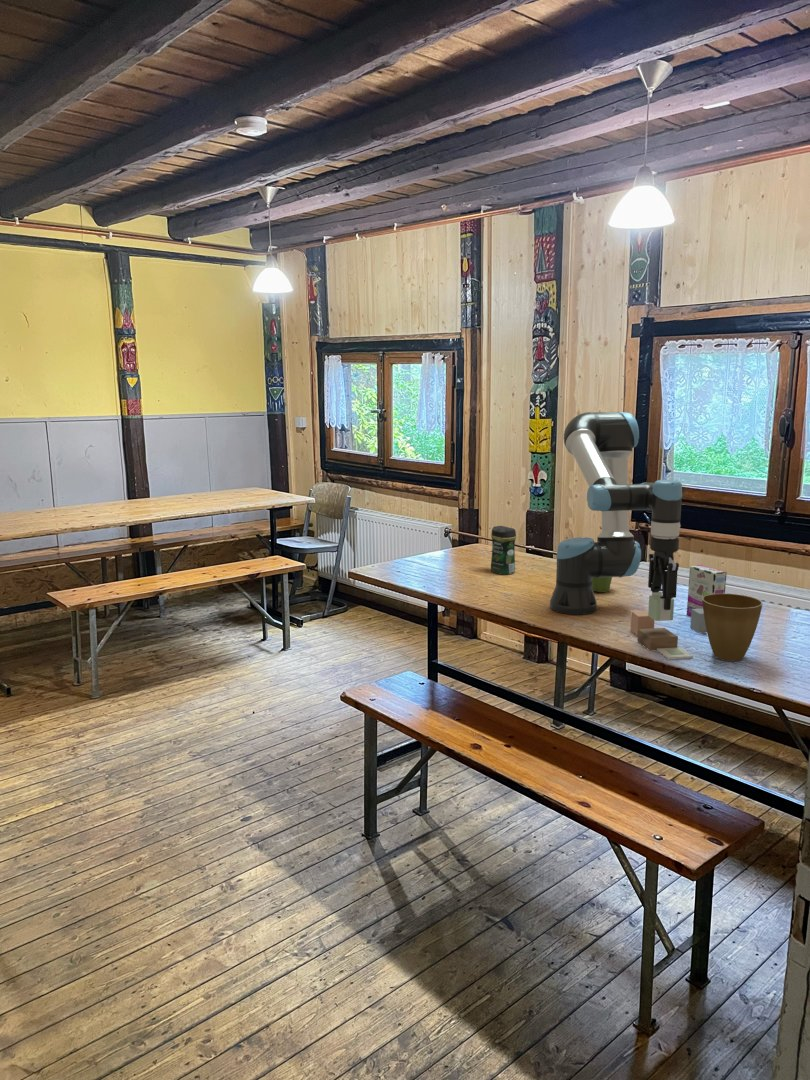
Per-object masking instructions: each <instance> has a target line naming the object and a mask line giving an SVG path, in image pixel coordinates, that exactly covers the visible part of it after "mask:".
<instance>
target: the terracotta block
mask: <svg viewBox="0 0 810 1080" xmlns="http://www.w3.org/2000/svg"><path fill="white" fill-rule="evenodd" d="M651 628H655V620H654V619H652V618H651V617H649V616H648V610H639V611H637V610H635V611H631V614H630V630H631V632H632V633H633V634H634V633H635V634H634V635H636V636H637V637H638V629H651Z"/></svg>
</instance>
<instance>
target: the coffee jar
mask: <svg viewBox="0 0 810 1080" xmlns="http://www.w3.org/2000/svg"><path fill="white" fill-rule="evenodd" d="M490 537H491V542H492V543H491V544H492V546H491V547H492V548H491V561H490V571H491V572H492V571H493V572H492V573H495V572H496V573H495V574H498V573H501V574H500V575H508V574H509V573H512V574H514V573H515V572H516V557H515V555H516V554H515V553H516V550H515V547H516V546H515V545H516V539H517V531H516V529H515V528H514V527H513V528H512V527H508V526H504V525H497V526H496V525H495V526H493V528H492V529H491V535H490ZM509 575H510V574H509Z"/></svg>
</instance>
